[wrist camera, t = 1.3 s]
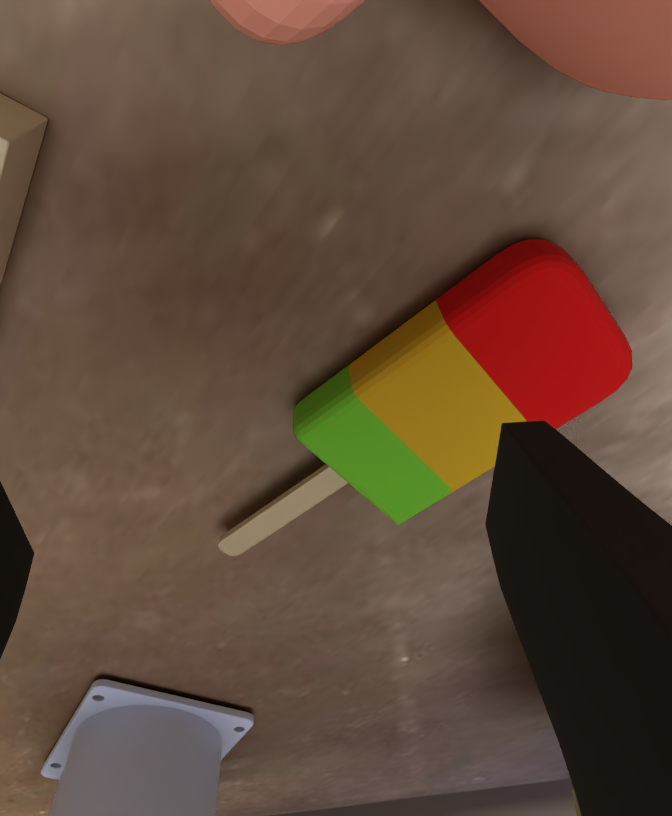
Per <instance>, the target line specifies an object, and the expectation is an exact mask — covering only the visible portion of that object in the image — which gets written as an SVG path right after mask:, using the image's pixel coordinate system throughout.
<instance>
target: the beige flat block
mask: <svg viewBox="0 0 672 816" xmlns="http://www.w3.org/2000/svg"><path fill="white" fill-rule="evenodd" d="M47 121H48V119H47V118H46V117H45V116H43V115H41V114H39V113H37V112H35V111H33V110H31V109H29V108H27V107H25V106H24V105H22V104H20V103H18V102H16V101H14V100H12V99H10V98H8V97H6V96H4V95H2V94H1V93H0V286H1V283H2V279H3V276H4V272H5V269H6V265H7V262H8V258H9V255H10V251H11V248H12V244H13V241H14V237H15V234H16V230H17V227H18V223H19V220H20V216H21V213H22V209H23V206H24V202H25V199H26V195H27V192H28V188H29V185H30V181H31V178H32V174H33V171H34V167H35V164H36V160H37V156H38V153H39V149H40V146H41V142H42V139H43V135H44V132H45V128H46V125H47Z"/></svg>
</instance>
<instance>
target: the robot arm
mask: <svg viewBox="0 0 672 816" xmlns="http://www.w3.org/2000/svg"><path fill="white" fill-rule="evenodd" d="M486 529H487V533H488V537H489V542H490V546H491V550H492V555H493V559H494V563H495V567H496V571H497V575H498V579H499V583H500V586H501V590H502V592H503V595H504V598H505V601H506V603H507V606H508V609H509V612H510V614H511V617H512V620H513V622H514V625H515V628H516V630H517V633H518V636H519V638H520V641H521V644H522V646H523V649H524V652H525V654H526V657H527V659H528V662H529V665H530V667H531V670H532V673H533V675H534V678H535V680H536V683H537V686H538V688H539V691H540V694H541V696H542V699H543V701H544V704H545V707H546V709H547V712H548V715H549V717H550V720H551V723H552V725H553V728H554V730H555V733H556V736H557V738H558V741H559V744H560V747H561V750H562V753H563V756H564V759H565V762H566V765H567V768H568V771H569V774H570V777H571V780H572V784H573V787H574V791H575V795H576V798H577V802H578V805H579V809H580V812H581V816H672V526H671V525H670V524H669V523H667V522H666V521H665V520H664V519H662V518H661V517H660V516H659V515H657V514H656V513H655V512H654V511H652V510H651V509H650V508H649V507H647V506H646V505H645V504H644V503H642V502H641V501H640V500H639V499H638V498H636V497H635V496H634V495H633V494H631V493H630V492H629V491H628V490H627V489H625V488H624V487H623V486H622V485H621V484H619V483H618V482H617V481H616V480H615V479H613V478H612V477H611V476H610V475H609V474H608V473H606V472H605V471H604V470H603V469H602V468H600V467H599V466H598V465H597V464H596V463H595V462H593V461H592V460H591V459H590V458H589V457H588V456H586V455H585V454H584V453H583V452H582V451H581V450H579V449H578V448H577V447H576V446H575V445H573V444H572V443H571V442H570V441H569V440H568V439H566V438H565V437H564V436H563V435H562V434H560V433H559V432H558V431H557V430H556V429H554V428H553V427H552V426H551V425H549V424H548V423H547V422H546V421H527V422H510V423H502V425H501V431H500V438H499V444H498V450H497V456H496V462H495V469H494V475H493V481H492V487H491V494H490V500H489V506H488V512H487V518H486ZM33 556H34V552H33V550H32V547H31V545H30V543H29V541H28V539H27V537H26V535H25V533H24V530H23V528H22V526H21V524H20V522H19V520H18V518H17V516H16V514H15V511H14V509H13V507H12V505H11V503H10V501H9V499H8V497H7V494H6V492H5V490H4V488H3V486H2V484H1V482H0V658H1V656H2V654H3V651H4V649H5V646H6V644H7V642H8V639H9V637H10V634H11V632H12V629H13V627H14V624H15V622H16V619H17V616H18V612H19V609H20V605H21V602H22V598H23V595H24V592H25V588H26V584H27V580H28V576H29V572H30V568H31V564H32V560H33ZM253 724H254V716H253V715H252V714H251V713H249V712H245V711H240V710H236V709H232V708H228V707H223V706H219V705H215V704H210V703H206V702H202V701H197V700H193V699H189V698H185V697H180V696H176V695H172V694H167V693H163V692H159V691H154V690H150V689H146V688H142V687H137V686H133V685H129V684H124V683H120V682H116V681H111V680H107V679H99V680H96V681H94V682H93V683H92V685H91V687H90V688H89V690H88V691H87V693H86V695H85V696H84V698H83V700H82V701H81V703H80V705H79V706H78V708H77V710H76V711H75V713H74V715H73V716H72V718H71V720H70V721H69V723H68V724H67V726H66V728H65V729H64V731H63V733H62V734H61V736H60V738H59V739H58V741H57V743H56V744H55V746H54V748H53V749H52V751H51V753H50V754H49V756H48V758H47V759H46V761H45V762H44V764H43V766H42V769H41V774H42V776H44V777H47V778H52V779H58V780H59V782H58V785H57V789H56V792H55V795H54V799H53V802H52V806H51V809H50V813H49V816H216V806H217V795H218V785H219V774H220V763H221V760H222V759H223V757H224V756H225V755H226V754H227V753H228V752H229V751H230V750H231V749H232V748H233V747H234V745H235V744H236V743H237V742H238V741H239V740H240V739H241V738H242V737H243V736H244V735H245V733H246V732H247V731H248V730H249V729H250V728H251V727H252V726H253Z"/></svg>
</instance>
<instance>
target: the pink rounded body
mask: <svg viewBox="0 0 672 816" xmlns="http://www.w3.org/2000/svg"><path fill="white" fill-rule="evenodd" d="M210 1H211V3H212V5H213V6H214V7H215V8H216V9H217V10H218V11H219V12H220V13H221V14H222V15H223V16H224V17H225V18H226V19H227V20H228V21H229V22H230V24H231V25H232V26H233V27H234V28H235V29H237V30H239V31H241V32H242V33H244V34H246V35H248V36H250V37H251V38H253V39H255V40H257V41H260V42H265V43H271V44H276V45H285V44H292V43H298V42H303V41H305V40H307V39H310V38H312V37H314V36H316V35H318V34H320V33H322V32H324V31H326V30H328V29H330V28H332V27H333V26H334V25H335V24H337V23H338V22H339V21H341V20H342V19H343V18H344V17H346V16H347V15H348V14H349V13H351V12H352V11H353V10H354V9H355V8H357V7H358V6H359V5H360V4H362V3H363V2H364V1H365V0H210ZM479 1H480V2H481V3H482V4H483V5H484V6H485V7H486V8H487V9H488V10H489V11H490V12H491V13H492V14H493V15H494V16H495V17H496V18H497V19H498V20H499V21H500V22H501V23H502V24H503V25H504V26H505V27H506V28H507V29H508V30H509V31H510V32H511V33H512V34H513V35H514V36H515V37H516V38H517V39H518V40H519V41H520V42H521V43H522V44H524V45H525V46H526V47H528V48H529V49H530V50H531V51H533V52H534V53H535V54H536V55H538V56H539V57H540V58H541V59H543V60H544V61H545V62H546V63H548V64H549V65H550V66H552V67H553V68H554V69H556V70H557V71H559V72H561V73H563V74H565V75H567V76H569V77H571V78H573V79H575V80H577V81H579V82H581V83H583V84H585V85H586V86H588V87H592V88H595V89H598V90H602V91H605V92H609V93H614V94H620V95H626V96H631V97H637V98H646V99H660V100H672V0H479Z"/></svg>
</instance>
